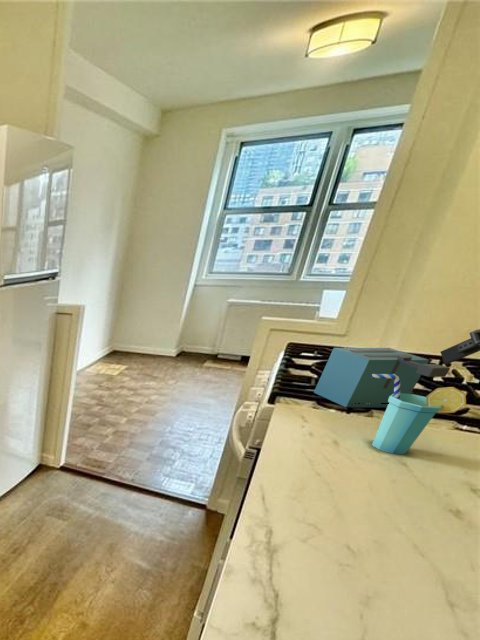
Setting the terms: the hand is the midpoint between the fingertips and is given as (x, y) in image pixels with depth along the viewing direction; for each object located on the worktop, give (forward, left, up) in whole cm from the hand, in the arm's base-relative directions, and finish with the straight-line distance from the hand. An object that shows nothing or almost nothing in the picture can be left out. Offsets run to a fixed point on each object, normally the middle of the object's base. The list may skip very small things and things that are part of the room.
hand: (477, 357), depth 97 cm
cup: (+12, +15, -17) cm, 25 cm away
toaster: (+10, -16, -17) cm, 25 cm away
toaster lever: (+5, -8, -6) cm, 11 cm away
